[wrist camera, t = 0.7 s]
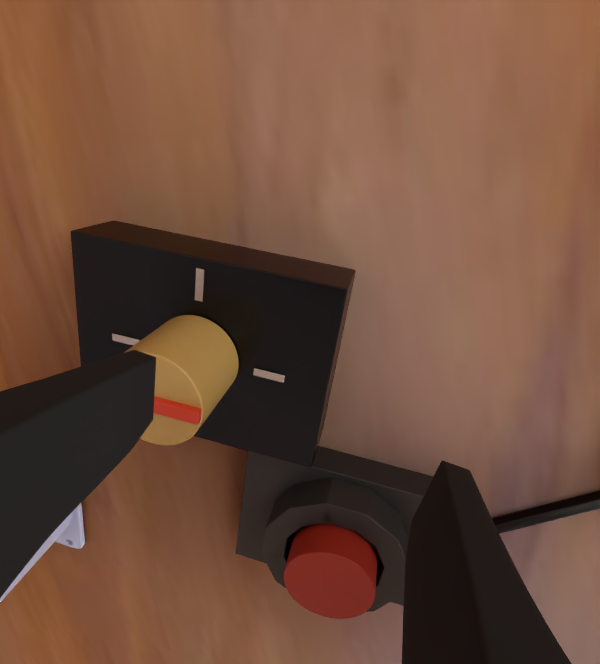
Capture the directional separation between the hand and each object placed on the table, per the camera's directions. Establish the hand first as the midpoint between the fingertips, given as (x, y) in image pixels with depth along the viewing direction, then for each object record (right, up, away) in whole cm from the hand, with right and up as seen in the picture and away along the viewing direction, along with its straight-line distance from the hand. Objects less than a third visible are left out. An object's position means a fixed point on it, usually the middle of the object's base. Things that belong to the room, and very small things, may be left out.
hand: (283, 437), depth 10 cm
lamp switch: (+2, -9, +12) cm, 15 cm away
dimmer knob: (-4, +1, +9) cm, 10 cm away
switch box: (+3, -8, +14) cm, 17 cm away
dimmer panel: (-4, +3, +12) cm, 12 cm away
